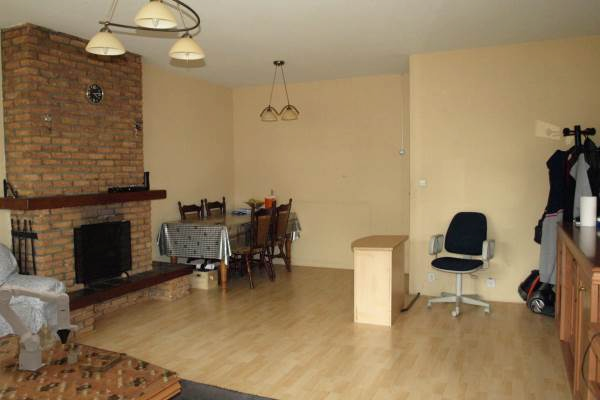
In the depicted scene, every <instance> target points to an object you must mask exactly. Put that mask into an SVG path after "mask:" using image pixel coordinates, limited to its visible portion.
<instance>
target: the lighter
mask: <svg viewBox="0 0 600 400" xmlns="http://www.w3.org/2000/svg"><path fill="white" fill-rule="evenodd" d="M82 348H83V346H82V345H78V346H77V348H76V350H75V352H71V353H69V354H68V355H67V365H68V366H70V365H73V364H74V365H75V364H76V363H78V355H80V354H81V351H82Z"/></svg>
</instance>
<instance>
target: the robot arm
mask: <svg viewBox="0 0 600 400" xmlns="http://www.w3.org/2000/svg"><path fill="white" fill-rule="evenodd" d="M20 296H24V297H29V298H36V299H39V301H40V302H43V303H48V304H52V305H55V304H56V306H57V307H56V321H57V322H56V323H57V324H51V325H50V326H49V330H52V331H53V330H56V334H57V335H58V338H59V339H60V342H61V344H62V345H65V344H67V343H68V342H67V341H68V338H69V335H70V333H71V331H78V330H79V325H75V324H71V322H70V321H71V318H70V317H71V315H70V296H69V295H68V293H65V292H61V291H58V292H57V291H51V289H44V290H42V291H40V290H37V289H36V290H35V289H32V288H28V287H25V286H22V285H21V286H20V285H16V284H10V283H7V284H4V285H2V286H1V287H0V316H1V317H2V318H3V319H4V320H5V321H6V322H7V324H8V325H9V326H10V327H11V328H12V329H13V331H14V332H15V333H16V334H17V336H19V337H20V338H21V340H22V342H23V343H24V345H25V349H23V350H22V351H21V352H20V351H19V352H20V353H19V356H18V359H19V361H18V363H19V367H18V368H17V369H18V370H21V371H33V372H34V371H37V370H39V369H40V368H42V367H45V366H47V363H42V361H43V359H42V351H41V347H40V340H41V338H40V336H39V335H37V333H35V332H34V331H33V330H31V329H30V328H29V327H28V326H27V325H26V324H25V322H24V321H23V320H22V319H21V318H20V316H18V315H17V313H16V312H15V311H14V310H13V308H12V307H11V306H10V302H11V300H12V298H17V297H20Z"/></svg>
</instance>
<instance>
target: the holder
mask: <svg viewBox="0 0 600 400" xmlns="http://www.w3.org/2000/svg"><path fill="white" fill-rule="evenodd" d="M97 358H98V359H97ZM96 359H97V360H104V359H108V360H107V361H109V362H108V363H105V364H104V365H97V364H96V365H94V364H86V363H80V364H78V370H80V371H89V372H95V373H96V372H97V373H105V372H107V371H108V370H109V369H111V368H113V367H114V366H116V365H117V364H118V363H121V362H122V361H123V355H120V354H110V353H101V352H100V353H96Z"/></svg>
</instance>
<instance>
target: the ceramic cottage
mask: <svg viewBox="0 0 600 400" xmlns="http://www.w3.org/2000/svg"><path fill="white" fill-rule="evenodd" d="M50 325H52V323H49V322H48V323H47V324H45V322H43V323H41V326H40V327H39V329H38V330H37V332H36V334H37V335H39V336H40V338H41V340H40V347H41V352H45V351H47V350H50V349H51V348H53V347H54V346H55V345H56V343H57V342H56V339H55V336H54V334H53V329H52V330H49V326H50ZM18 343H19V347H20V348H19V352H21V351H22V350H23V349H25V345H24V343H23V342H22V340H21V337H20V339H19V341H18Z"/></svg>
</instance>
